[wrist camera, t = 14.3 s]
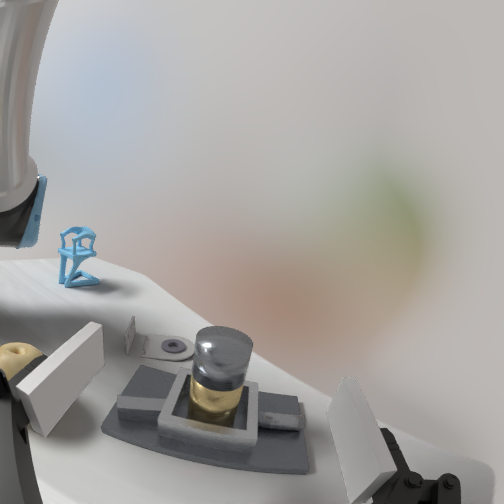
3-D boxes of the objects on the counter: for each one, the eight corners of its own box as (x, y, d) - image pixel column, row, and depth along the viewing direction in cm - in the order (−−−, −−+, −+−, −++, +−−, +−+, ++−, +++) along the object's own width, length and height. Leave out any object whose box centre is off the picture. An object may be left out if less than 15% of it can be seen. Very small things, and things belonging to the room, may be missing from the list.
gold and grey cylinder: (182, 427, 23) (190, 347, 21) (192, 397, 28) (202, 321, 26) (232, 437, 23) (252, 359, 21) (235, 406, 28) (253, 332, 26)
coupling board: (102, 432, 20) (97, 409, 19) (141, 370, 31) (141, 348, 31) (305, 474, 20) (318, 455, 19) (295, 401, 32) (302, 381, 31)
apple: (1, 432, 13) (-33, 356, 13) (21, 406, 20) (-4, 345, 20) (61, 420, 16) (25, 339, 17) (71, 394, 23) (46, 330, 24)
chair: (53, 279, 49) (54, 225, 47) (80, 273, 57) (83, 223, 55) (71, 291, 47) (71, 232, 44) (100, 283, 55) (102, 229, 52)
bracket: (195, 366, 36) (197, 345, 36) (124, 356, 34) (124, 335, 33) (194, 342, 43) (196, 323, 42) (132, 334, 40) (132, 315, 40)
